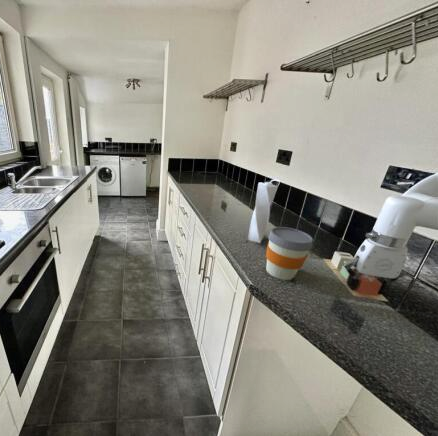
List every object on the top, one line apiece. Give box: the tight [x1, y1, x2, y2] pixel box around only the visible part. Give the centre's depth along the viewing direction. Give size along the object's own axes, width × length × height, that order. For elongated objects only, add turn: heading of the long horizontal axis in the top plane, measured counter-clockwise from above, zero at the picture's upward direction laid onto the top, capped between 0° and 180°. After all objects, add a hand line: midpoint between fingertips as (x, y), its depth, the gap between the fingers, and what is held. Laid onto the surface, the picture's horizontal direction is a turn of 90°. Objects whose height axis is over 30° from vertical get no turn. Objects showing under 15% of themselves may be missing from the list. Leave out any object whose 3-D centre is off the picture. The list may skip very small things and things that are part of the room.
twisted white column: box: [247, 178, 281, 244], centre depth 100 cm, size 8×8×28 cm
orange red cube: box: [355, 274, 382, 296], centre depth 72 cm, size 5×5×5 cm
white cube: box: [331, 251, 354, 269], centre depth 85 cm, size 5×5×5 cm
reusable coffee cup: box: [265, 226, 314, 281], centre depth 79 cm, size 13×13×15 cm
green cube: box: [340, 261, 358, 280], centre depth 78 cm, size 5×5×5 cm
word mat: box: [322, 258, 390, 303], centre depth 79 cm, size 9×22×1 cm, turn 166°
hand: (363, 289), depth 73 cm, fingers open, 6 cm apart
